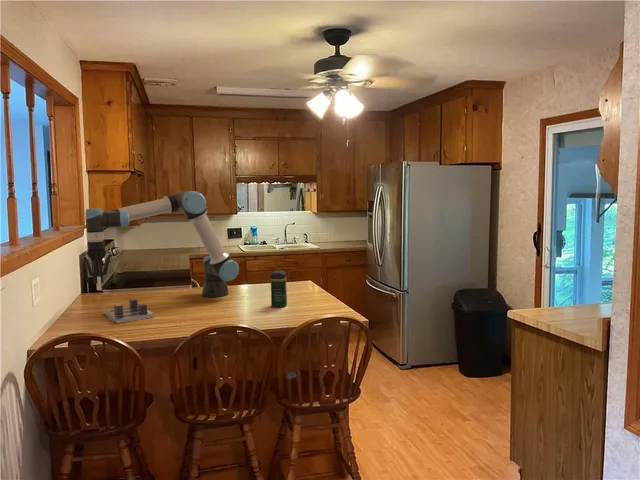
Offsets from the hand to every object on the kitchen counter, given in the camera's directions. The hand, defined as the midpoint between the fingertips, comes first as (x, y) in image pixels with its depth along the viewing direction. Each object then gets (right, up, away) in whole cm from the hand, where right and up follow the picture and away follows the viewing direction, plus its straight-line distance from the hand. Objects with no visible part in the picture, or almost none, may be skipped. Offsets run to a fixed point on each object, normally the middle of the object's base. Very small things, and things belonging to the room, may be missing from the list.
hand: (99, 289), depth 245 cm
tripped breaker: (+7, -12, +6) cm, 15 cm away
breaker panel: (+11, -14, +9) cm, 20 cm away
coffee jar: (+85, -11, +22) cm, 88 cm away
